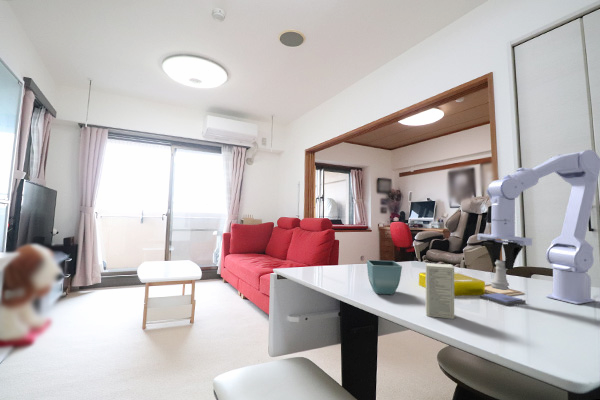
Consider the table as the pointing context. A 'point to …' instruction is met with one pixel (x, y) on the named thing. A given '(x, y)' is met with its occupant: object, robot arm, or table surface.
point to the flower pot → (384, 276)
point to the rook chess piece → (500, 276)
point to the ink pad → (502, 299)
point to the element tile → (461, 285)
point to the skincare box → (440, 290)
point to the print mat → (501, 291)
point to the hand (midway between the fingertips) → (502, 267)
